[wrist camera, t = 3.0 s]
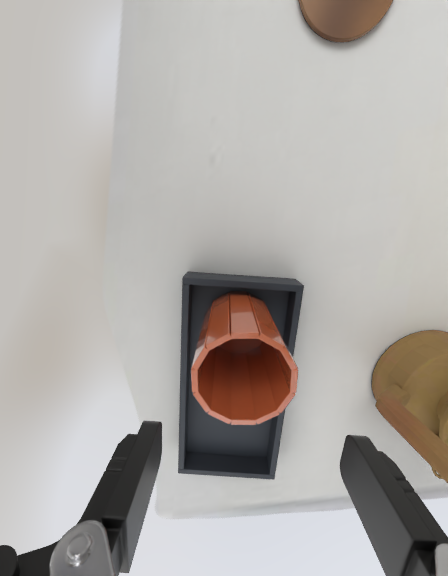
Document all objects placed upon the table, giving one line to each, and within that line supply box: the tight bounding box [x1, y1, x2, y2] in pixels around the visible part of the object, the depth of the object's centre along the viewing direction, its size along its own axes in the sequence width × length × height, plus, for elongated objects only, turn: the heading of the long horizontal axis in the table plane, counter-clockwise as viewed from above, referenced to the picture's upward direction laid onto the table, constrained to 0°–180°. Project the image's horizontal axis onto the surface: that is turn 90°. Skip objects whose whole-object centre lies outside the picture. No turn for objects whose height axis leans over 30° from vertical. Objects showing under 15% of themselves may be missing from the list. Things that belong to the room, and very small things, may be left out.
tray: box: [178, 272, 304, 479], centre depth 24 cm, size 21×10×3 cm, turn 176°
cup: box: [191, 291, 298, 425], centre depth 19 cm, size 6×6×9 cm
